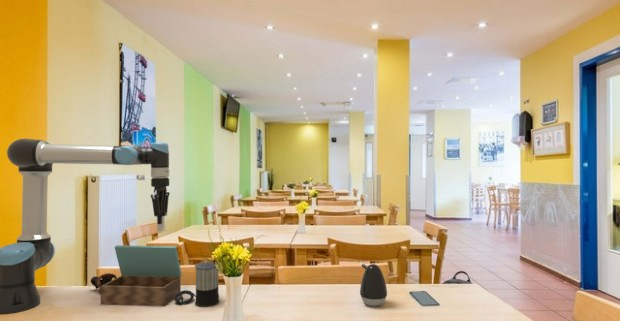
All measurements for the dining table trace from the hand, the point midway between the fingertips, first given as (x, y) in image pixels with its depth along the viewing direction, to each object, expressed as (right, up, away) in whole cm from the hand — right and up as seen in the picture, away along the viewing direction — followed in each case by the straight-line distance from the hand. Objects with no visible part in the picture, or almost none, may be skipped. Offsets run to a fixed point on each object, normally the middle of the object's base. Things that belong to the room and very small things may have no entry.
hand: (161, 230), depth 175 cm
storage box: (-2, -25, -16) cm, 29 cm away
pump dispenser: (+90, -24, -24) cm, 96 cm away
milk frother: (+22, -25, -20) cm, 39 cm away
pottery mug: (-22, -25, -5) cm, 34 cm away
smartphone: (+111, -24, -19) cm, 115 cm away
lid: (-1, -11, -11) cm, 16 cm away
